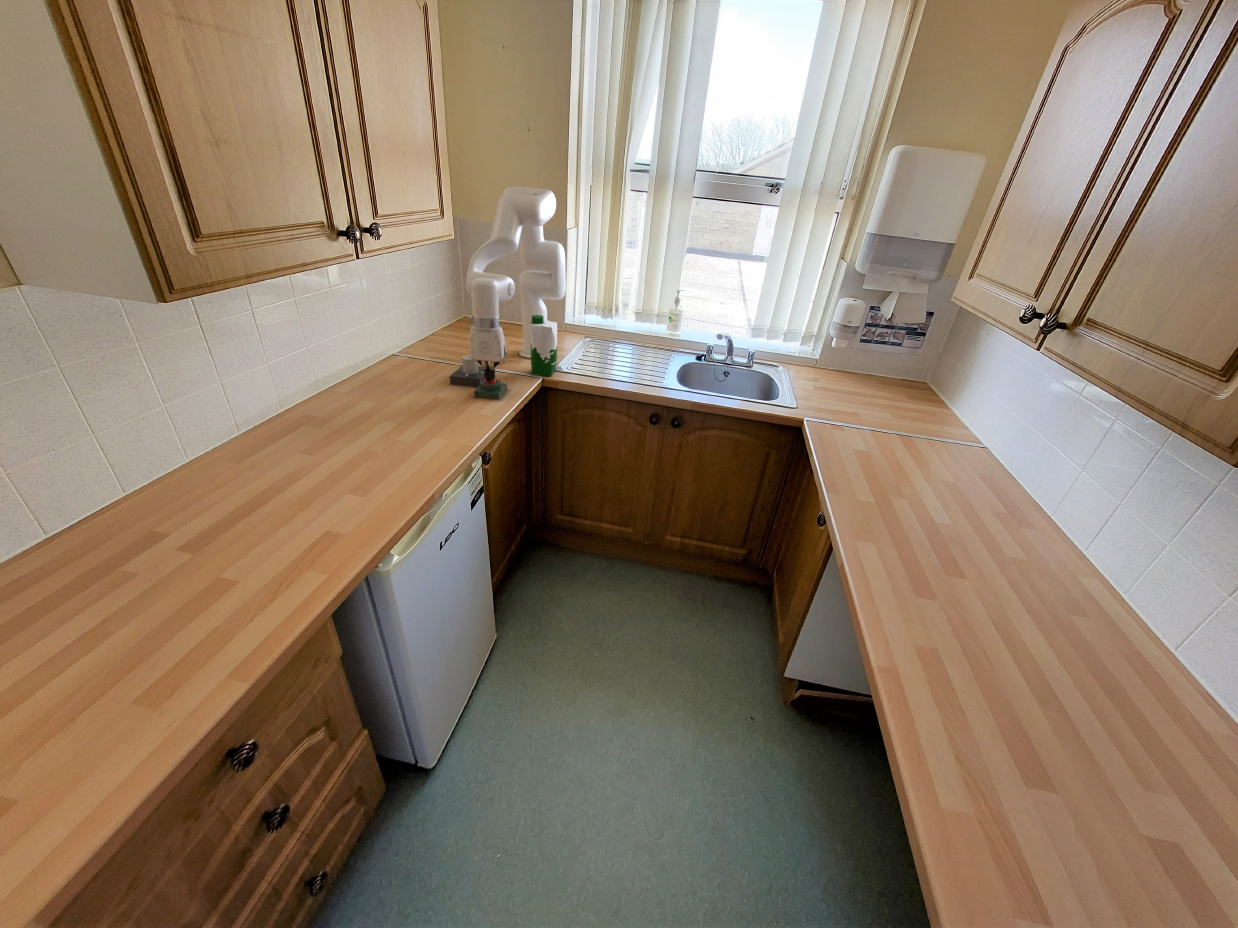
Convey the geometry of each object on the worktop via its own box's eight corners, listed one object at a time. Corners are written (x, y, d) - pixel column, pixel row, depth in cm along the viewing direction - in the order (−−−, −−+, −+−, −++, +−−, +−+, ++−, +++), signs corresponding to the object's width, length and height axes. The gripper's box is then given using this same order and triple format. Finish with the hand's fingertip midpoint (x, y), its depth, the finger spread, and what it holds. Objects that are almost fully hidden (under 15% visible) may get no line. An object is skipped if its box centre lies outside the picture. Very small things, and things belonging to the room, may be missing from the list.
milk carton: (535, 367, 181) (534, 313, 171) (559, 370, 180) (559, 315, 170) (528, 375, 173) (526, 318, 163) (552, 378, 172) (552, 321, 162)
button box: (483, 387, 160) (482, 376, 158) (507, 389, 160) (506, 378, 158) (474, 397, 152) (473, 385, 150) (499, 400, 152) (498, 388, 150)
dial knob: (460, 373, 161) (459, 357, 159) (466, 368, 166) (464, 353, 163) (475, 374, 161) (474, 359, 159) (480, 369, 166) (479, 354, 163)
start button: (486, 382, 156) (486, 377, 155) (497, 383, 156) (497, 378, 155) (483, 386, 153) (482, 381, 152) (494, 387, 153) (494, 382, 152)
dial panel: (463, 372, 170) (462, 364, 169) (491, 375, 170) (490, 366, 169) (450, 384, 160) (449, 375, 158) (480, 387, 160) (479, 378, 158)
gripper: (457, 322, 141) (462, 382, 151) (507, 327, 141) (510, 386, 150) (466, 317, 148) (471, 374, 157) (514, 321, 147) (516, 378, 157)
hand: (490, 380), depth 154 cm, fingers closed
